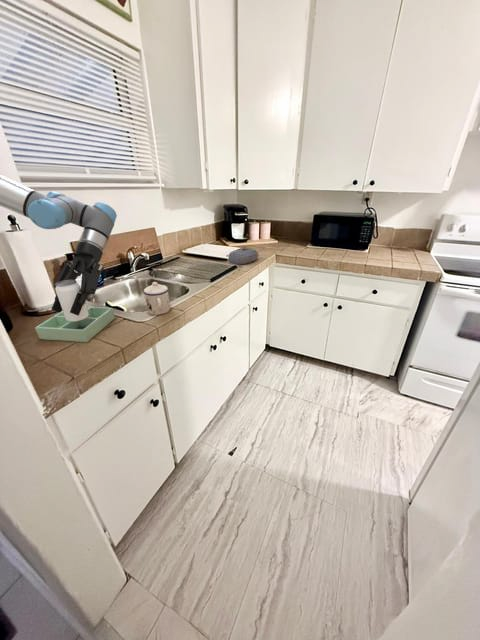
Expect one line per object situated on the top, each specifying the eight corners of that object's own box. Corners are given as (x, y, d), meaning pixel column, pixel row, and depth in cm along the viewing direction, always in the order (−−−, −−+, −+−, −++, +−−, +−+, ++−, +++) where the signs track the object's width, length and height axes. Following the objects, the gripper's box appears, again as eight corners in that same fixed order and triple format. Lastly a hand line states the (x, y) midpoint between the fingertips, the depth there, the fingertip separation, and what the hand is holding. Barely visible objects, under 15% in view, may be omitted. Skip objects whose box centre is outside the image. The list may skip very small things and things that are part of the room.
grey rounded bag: (243, 266, 157) (263, 259, 171) (243, 252, 153) (263, 247, 167) (225, 262, 166) (245, 256, 179) (225, 248, 162) (245, 243, 175)
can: (63, 317, 84) (51, 282, 79) (85, 311, 88) (74, 277, 83) (69, 324, 80) (56, 288, 75) (91, 317, 84) (81, 282, 79)
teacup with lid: (146, 307, 106) (141, 280, 100) (168, 304, 109) (165, 277, 103) (149, 320, 96) (144, 291, 90) (174, 316, 99) (170, 287, 94)
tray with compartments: (39, 339, 85) (34, 327, 83) (73, 316, 99) (70, 305, 97) (87, 342, 83) (83, 330, 81) (114, 318, 98) (112, 307, 96)
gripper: (123, 255, 87) (99, 320, 81) (76, 251, 92) (51, 312, 86) (107, 242, 80) (80, 312, 74) (58, 239, 85) (29, 304, 79)
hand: (65, 312), depth 80 cm, fingers closed on can, 6 cm apart
